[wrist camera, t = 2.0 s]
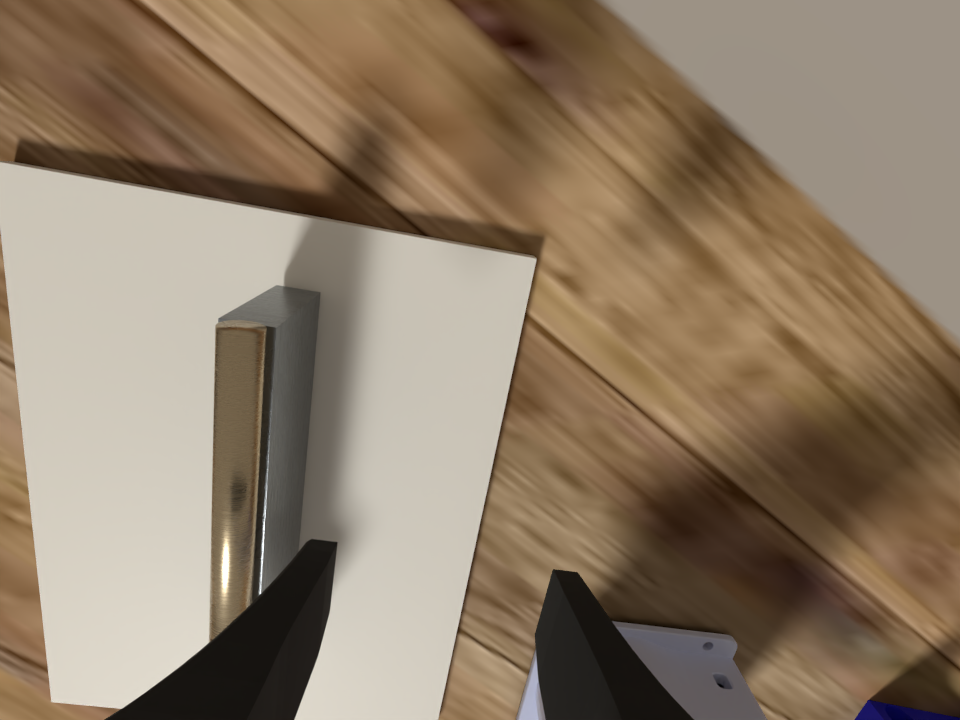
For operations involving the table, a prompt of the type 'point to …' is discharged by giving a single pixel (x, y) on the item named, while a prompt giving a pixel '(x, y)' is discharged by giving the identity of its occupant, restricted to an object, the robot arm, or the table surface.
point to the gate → (259, 444)
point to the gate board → (189, 427)
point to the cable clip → (897, 713)
